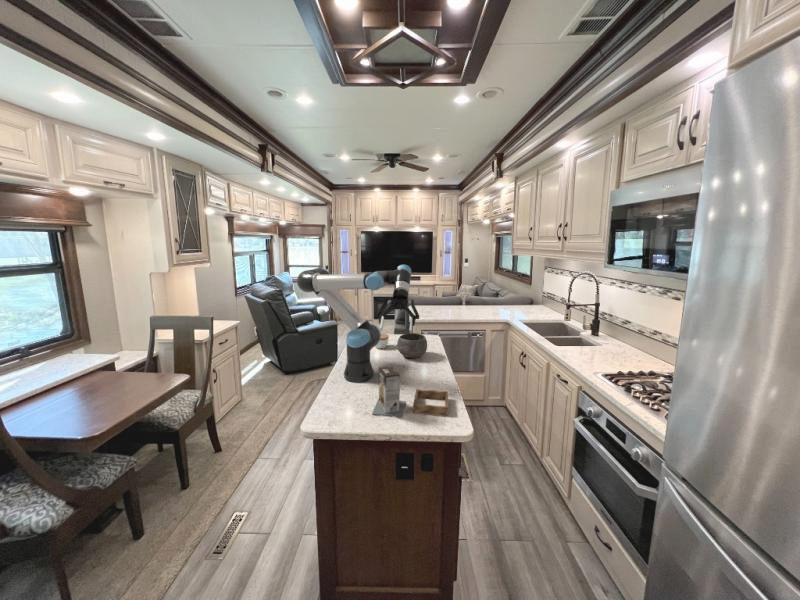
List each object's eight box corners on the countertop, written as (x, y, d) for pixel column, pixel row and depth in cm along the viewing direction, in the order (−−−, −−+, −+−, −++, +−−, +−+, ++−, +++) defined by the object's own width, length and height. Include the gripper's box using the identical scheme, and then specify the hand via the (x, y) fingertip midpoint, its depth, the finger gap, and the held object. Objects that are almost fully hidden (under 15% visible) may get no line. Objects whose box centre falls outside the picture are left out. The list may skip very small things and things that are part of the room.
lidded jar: (388, 344, 215) (388, 331, 213) (388, 350, 204) (388, 335, 202) (372, 344, 214) (372, 331, 212) (371, 350, 204) (371, 335, 202)
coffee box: (378, 402, 138) (378, 367, 135) (392, 400, 140) (392, 365, 137) (384, 413, 129) (384, 376, 126) (399, 410, 132) (400, 373, 128)
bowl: (425, 363, 183) (426, 341, 181) (394, 361, 186) (394, 340, 184) (428, 352, 201) (428, 332, 198) (399, 350, 203) (399, 331, 201)
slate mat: (372, 414, 130) (372, 413, 129) (378, 400, 141) (378, 398, 141) (401, 417, 128) (401, 415, 128) (405, 402, 140) (405, 401, 139)
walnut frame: (412, 412, 131) (413, 404, 131) (416, 396, 145) (416, 389, 144) (447, 415, 129) (447, 407, 129) (447, 398, 143) (447, 391, 142)
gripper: (375, 287, 157) (367, 324, 146) (426, 288, 153) (422, 327, 142) (377, 295, 163) (370, 332, 152) (426, 297, 160) (423, 336, 148)
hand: (395, 330), depth 147 cm, fingers open, 13 cm apart
